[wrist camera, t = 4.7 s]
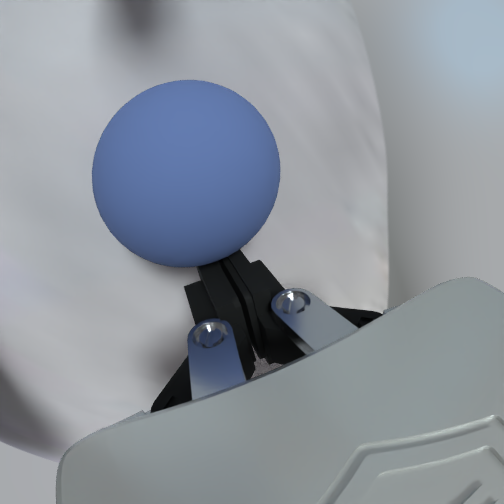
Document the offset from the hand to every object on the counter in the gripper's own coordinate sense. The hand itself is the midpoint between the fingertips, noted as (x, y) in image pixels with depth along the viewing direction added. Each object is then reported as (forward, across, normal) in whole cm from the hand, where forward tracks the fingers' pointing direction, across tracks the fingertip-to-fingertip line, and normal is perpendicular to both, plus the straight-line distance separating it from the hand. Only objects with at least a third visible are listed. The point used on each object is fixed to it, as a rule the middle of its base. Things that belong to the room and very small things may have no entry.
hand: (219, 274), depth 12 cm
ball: (-1, 0, -5) cm, 5 cm away
